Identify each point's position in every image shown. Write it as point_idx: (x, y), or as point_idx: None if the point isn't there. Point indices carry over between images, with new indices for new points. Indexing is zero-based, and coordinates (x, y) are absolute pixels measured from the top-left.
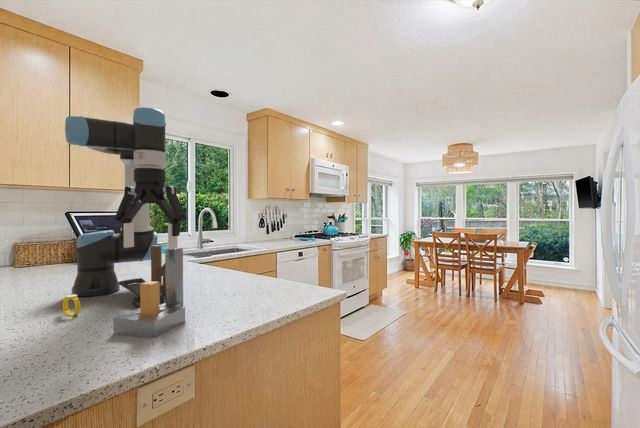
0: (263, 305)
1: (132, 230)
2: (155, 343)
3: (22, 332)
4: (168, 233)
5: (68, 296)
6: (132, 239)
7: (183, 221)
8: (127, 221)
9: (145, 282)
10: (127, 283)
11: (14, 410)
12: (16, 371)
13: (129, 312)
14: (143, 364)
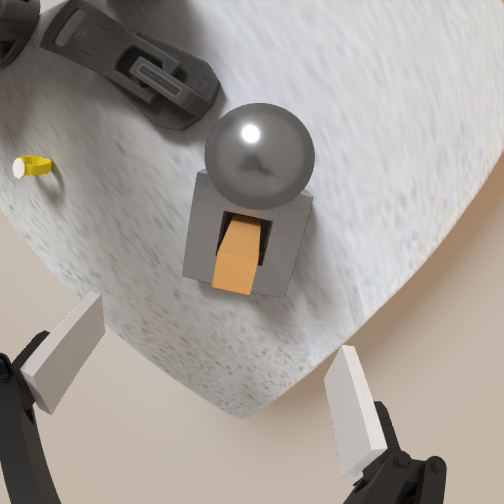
0: (449, 94)
1: (58, 353)
2: (295, 303)
3: (49, 250)
4: (336, 436)
5: (18, 175)
6: (84, 322)
7: (424, 461)
8: (24, 398)
9: (216, 269)
10: (57, 35)
11: (234, 413)
12: (164, 364)
13: (190, 239)
14: (308, 359)
